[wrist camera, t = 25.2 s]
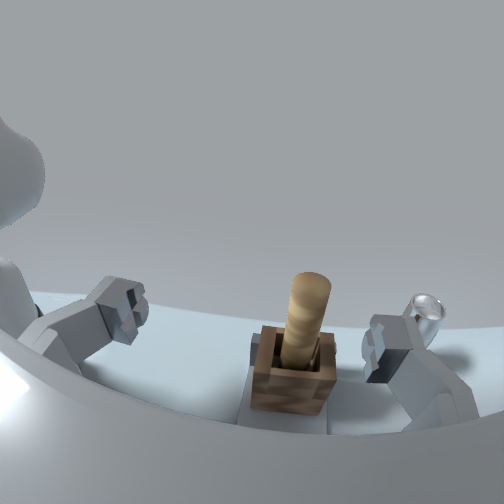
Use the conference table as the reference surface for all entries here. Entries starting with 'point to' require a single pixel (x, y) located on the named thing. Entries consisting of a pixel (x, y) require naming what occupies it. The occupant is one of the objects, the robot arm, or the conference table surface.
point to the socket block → (292, 376)
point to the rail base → (276, 419)
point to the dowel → (304, 320)
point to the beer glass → (426, 315)
